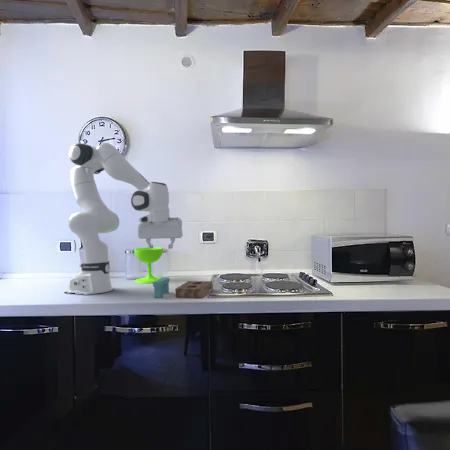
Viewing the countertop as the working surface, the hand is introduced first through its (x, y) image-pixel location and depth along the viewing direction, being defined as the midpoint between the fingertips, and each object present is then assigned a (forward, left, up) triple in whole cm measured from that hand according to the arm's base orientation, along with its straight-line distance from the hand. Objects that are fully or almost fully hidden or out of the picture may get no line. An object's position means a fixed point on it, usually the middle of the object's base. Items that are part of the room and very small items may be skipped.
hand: (160, 248), depth 160 cm
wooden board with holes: (+14, +5, -21) cm, 26 cm away
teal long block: (0, 0, -21) cm, 21 cm away
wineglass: (-21, +34, -21) cm, 45 cm away
